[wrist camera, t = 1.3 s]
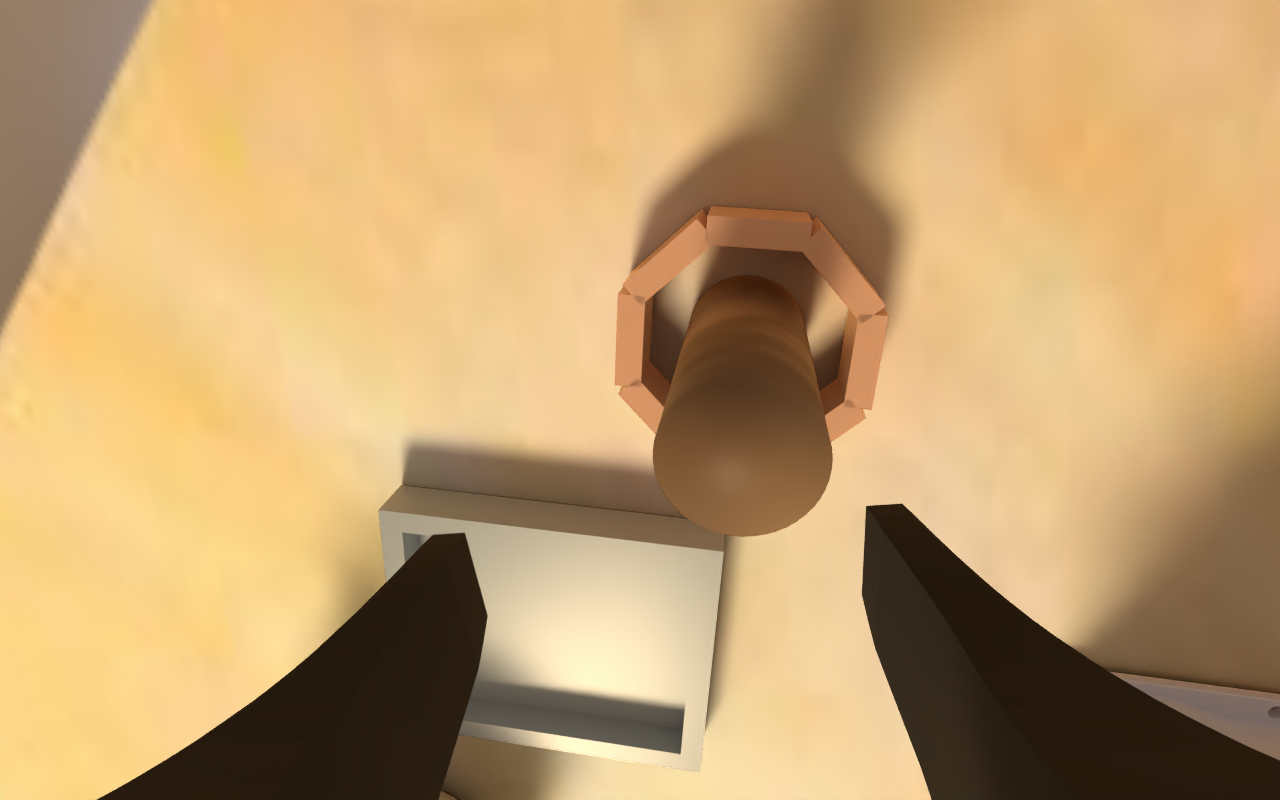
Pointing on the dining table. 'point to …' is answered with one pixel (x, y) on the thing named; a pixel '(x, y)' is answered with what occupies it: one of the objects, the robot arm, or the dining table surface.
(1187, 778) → the robot arm
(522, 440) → the dining table surface
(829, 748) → the dining table surface
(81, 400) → the dining table surface
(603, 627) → the tray
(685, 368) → the dowel
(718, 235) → the ring holder
